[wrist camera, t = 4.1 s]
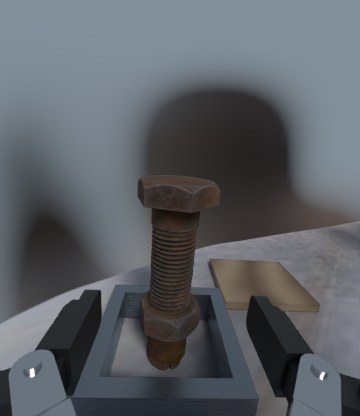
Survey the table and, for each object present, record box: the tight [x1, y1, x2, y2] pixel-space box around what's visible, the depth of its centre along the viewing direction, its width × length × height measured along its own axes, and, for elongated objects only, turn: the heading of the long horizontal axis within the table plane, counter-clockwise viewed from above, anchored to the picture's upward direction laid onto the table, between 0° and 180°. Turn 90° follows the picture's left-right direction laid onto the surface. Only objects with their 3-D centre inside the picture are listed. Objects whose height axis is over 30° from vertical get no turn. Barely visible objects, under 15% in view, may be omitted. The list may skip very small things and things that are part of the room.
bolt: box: [138, 175, 220, 370], centre depth 17 cm, size 6×5×15 cm
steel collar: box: [71, 285, 259, 416], centre depth 19 cm, size 11×11×3 cm
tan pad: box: [209, 259, 320, 312], centre depth 30 cm, size 11×10×1 cm
